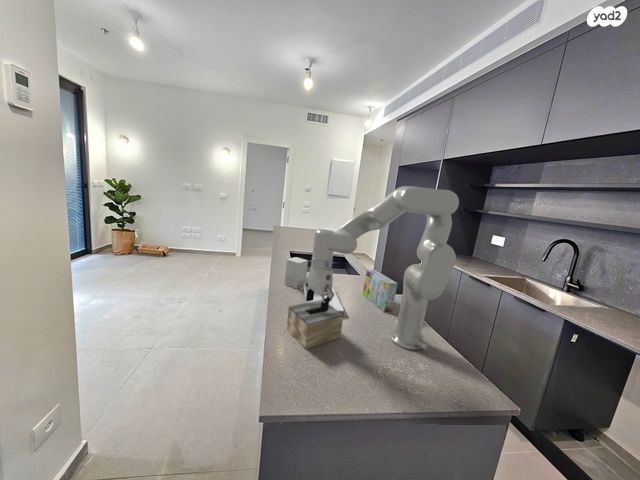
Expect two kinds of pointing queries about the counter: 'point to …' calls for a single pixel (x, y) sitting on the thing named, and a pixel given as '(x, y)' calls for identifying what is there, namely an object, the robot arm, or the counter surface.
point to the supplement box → (296, 272)
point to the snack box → (380, 290)
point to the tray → (334, 302)
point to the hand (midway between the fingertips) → (316, 305)
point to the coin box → (314, 324)
